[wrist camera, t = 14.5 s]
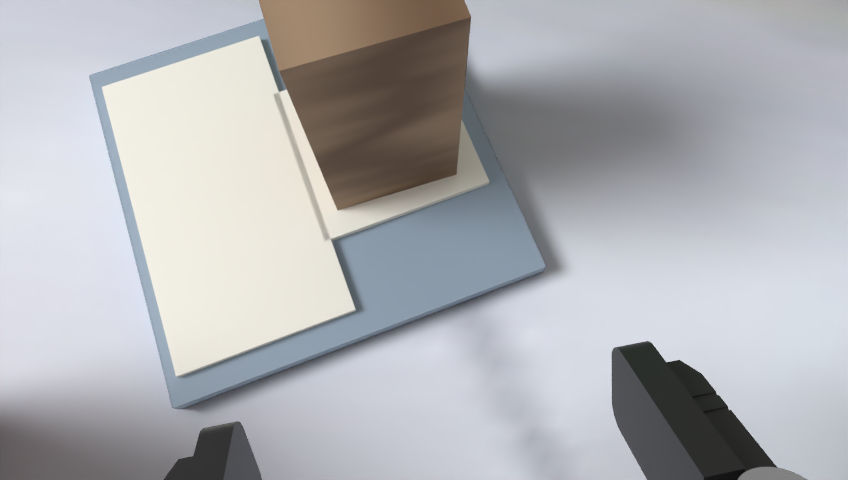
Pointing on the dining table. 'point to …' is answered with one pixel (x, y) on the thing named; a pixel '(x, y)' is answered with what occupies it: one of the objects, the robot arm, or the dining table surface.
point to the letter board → (282, 221)
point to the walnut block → (374, 88)
